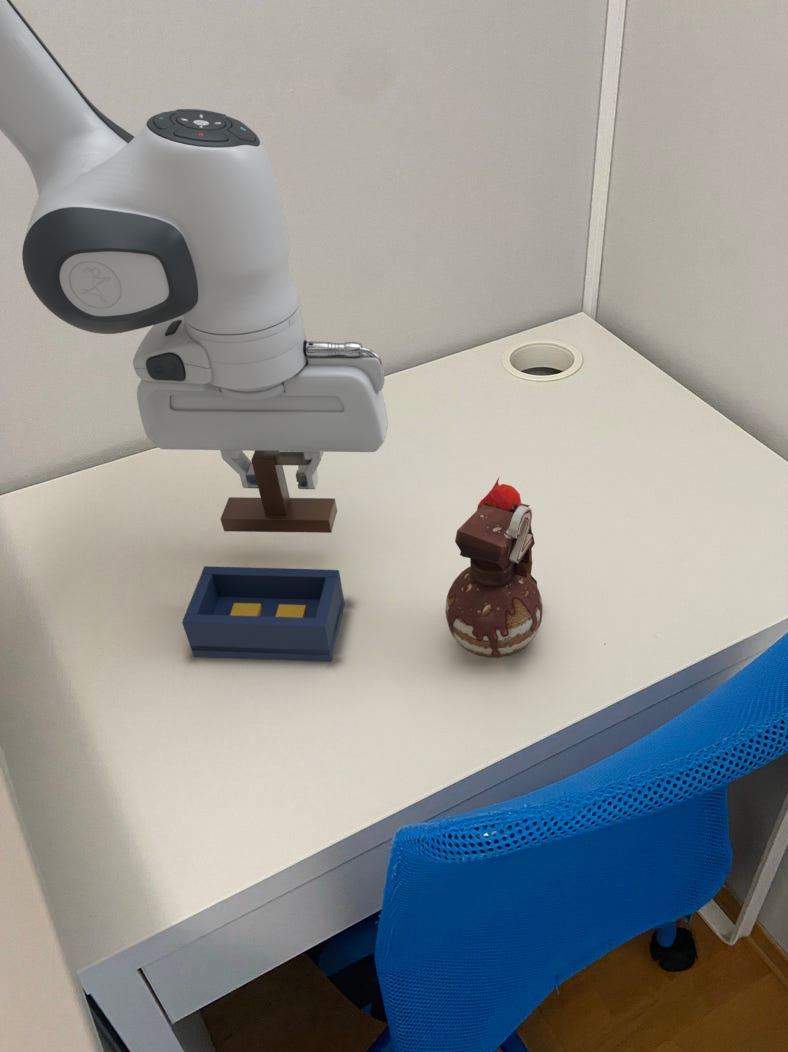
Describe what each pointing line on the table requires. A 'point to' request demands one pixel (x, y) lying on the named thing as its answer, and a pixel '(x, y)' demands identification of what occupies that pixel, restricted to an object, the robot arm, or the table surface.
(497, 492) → the grenade
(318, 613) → the token holder
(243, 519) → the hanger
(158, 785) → the table surface
